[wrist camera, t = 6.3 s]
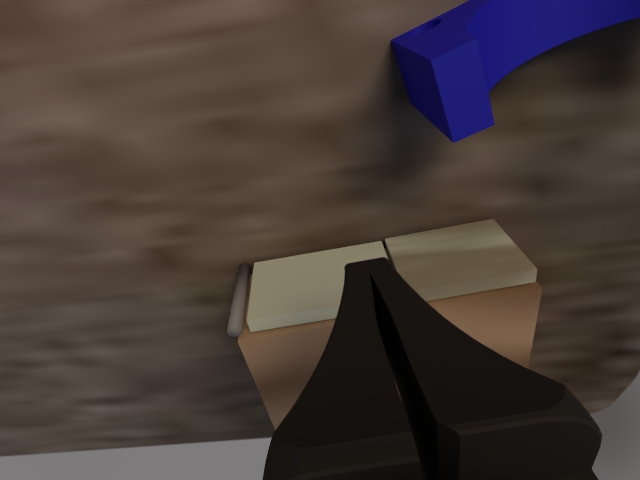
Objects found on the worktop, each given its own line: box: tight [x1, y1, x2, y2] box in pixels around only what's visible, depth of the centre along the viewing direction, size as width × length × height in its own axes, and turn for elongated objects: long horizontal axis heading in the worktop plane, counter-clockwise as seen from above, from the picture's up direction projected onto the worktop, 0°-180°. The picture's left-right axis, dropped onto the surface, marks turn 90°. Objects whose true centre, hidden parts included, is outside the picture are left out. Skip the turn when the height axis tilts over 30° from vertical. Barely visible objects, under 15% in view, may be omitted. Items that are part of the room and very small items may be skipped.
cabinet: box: [238, 219, 542, 430], centre depth 23 cm, size 10×15×5 cm, turn 100°
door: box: [227, 241, 388, 337], centre depth 21 cm, size 1×9×5 cm, turn 99°
